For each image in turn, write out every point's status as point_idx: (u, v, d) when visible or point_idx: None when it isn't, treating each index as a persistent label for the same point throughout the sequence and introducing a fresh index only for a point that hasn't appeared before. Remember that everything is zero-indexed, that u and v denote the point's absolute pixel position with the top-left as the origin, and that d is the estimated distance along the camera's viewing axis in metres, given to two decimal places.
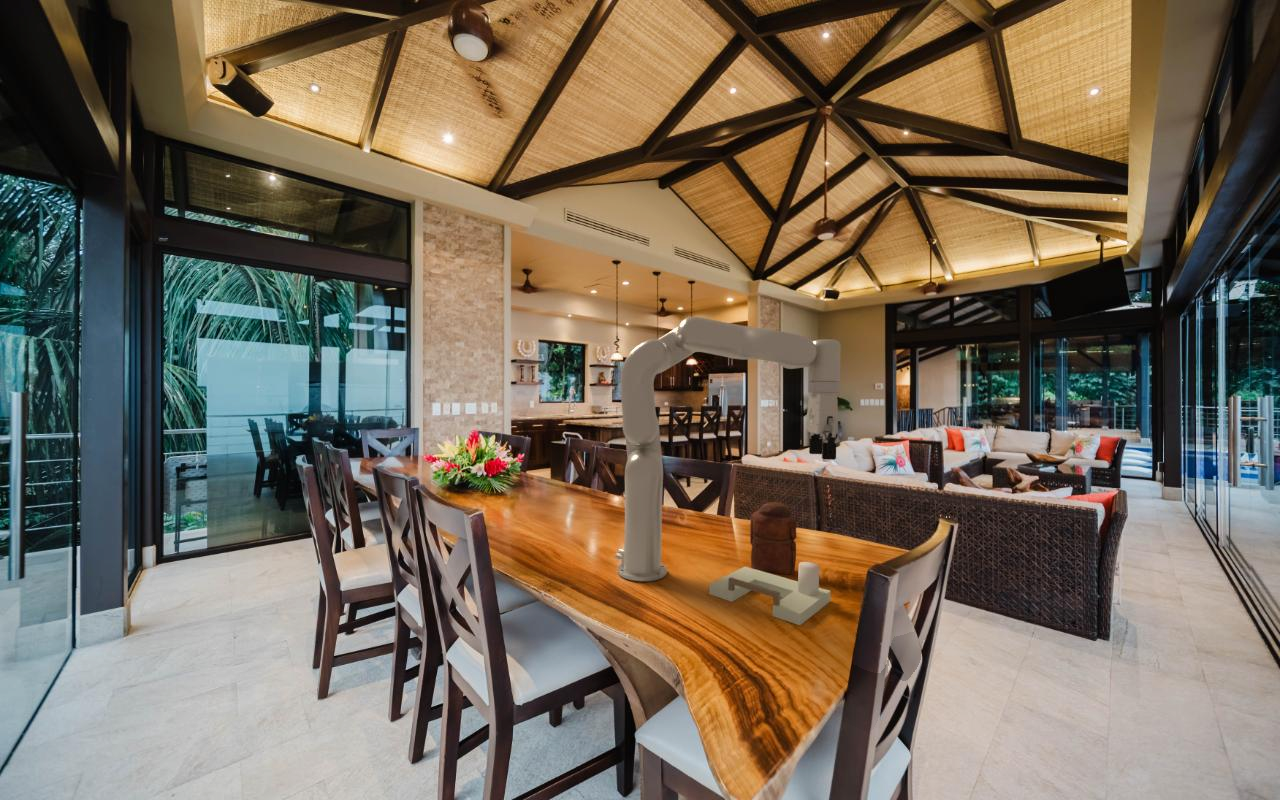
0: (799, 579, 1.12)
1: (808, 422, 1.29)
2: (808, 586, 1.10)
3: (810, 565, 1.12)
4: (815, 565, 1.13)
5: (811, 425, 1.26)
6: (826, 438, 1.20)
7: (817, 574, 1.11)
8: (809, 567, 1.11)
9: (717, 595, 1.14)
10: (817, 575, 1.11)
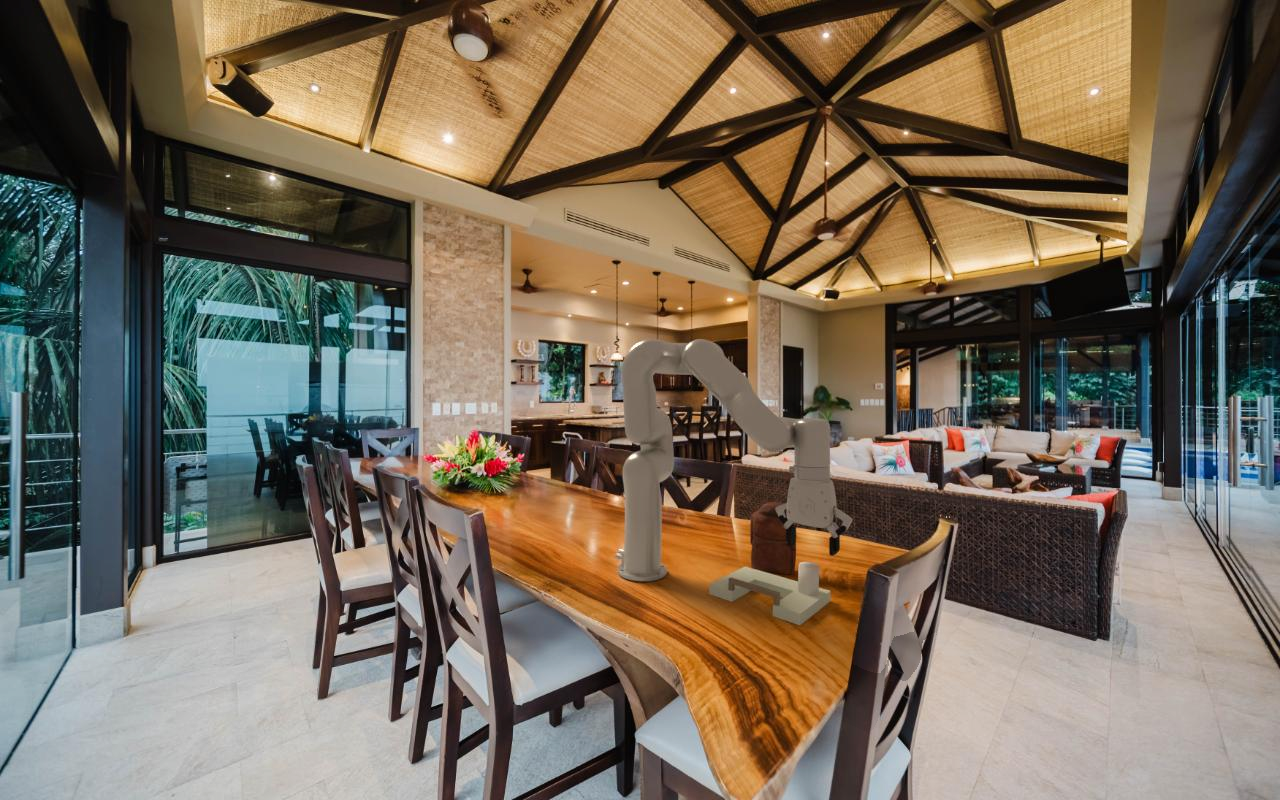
0: (799, 579, 1.12)
1: (795, 512, 1.12)
2: (807, 586, 1.10)
3: (810, 565, 1.12)
4: (815, 565, 1.13)
5: (806, 517, 1.10)
6: (836, 532, 1.07)
7: (817, 574, 1.11)
8: (809, 567, 1.11)
9: (717, 595, 1.14)
10: (817, 575, 1.11)
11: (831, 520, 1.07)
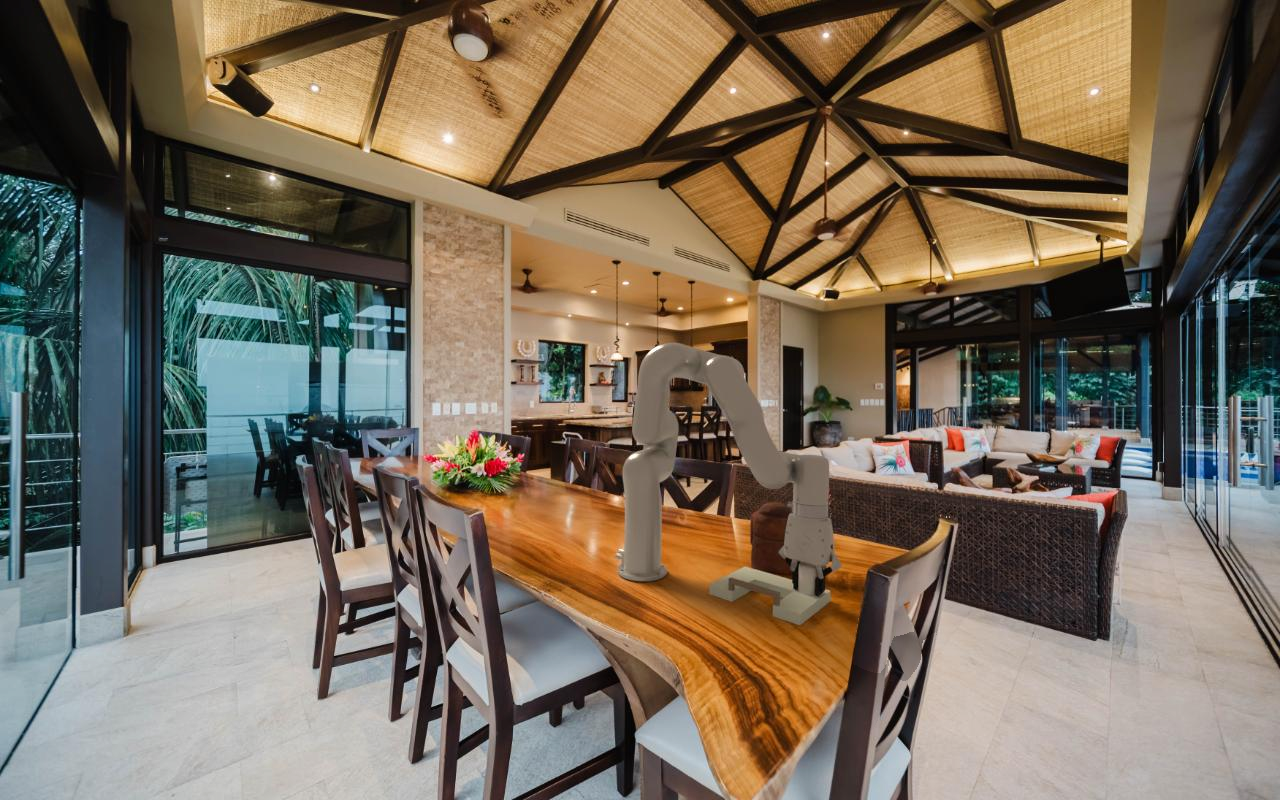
0: (799, 579, 1.12)
1: (792, 549, 1.12)
2: (808, 586, 1.10)
3: (810, 565, 1.12)
4: (815, 565, 1.13)
5: (803, 554, 1.10)
6: (823, 574, 1.09)
7: (817, 574, 1.11)
8: (809, 567, 1.11)
9: (717, 595, 1.14)
10: None
11: (828, 559, 1.08)
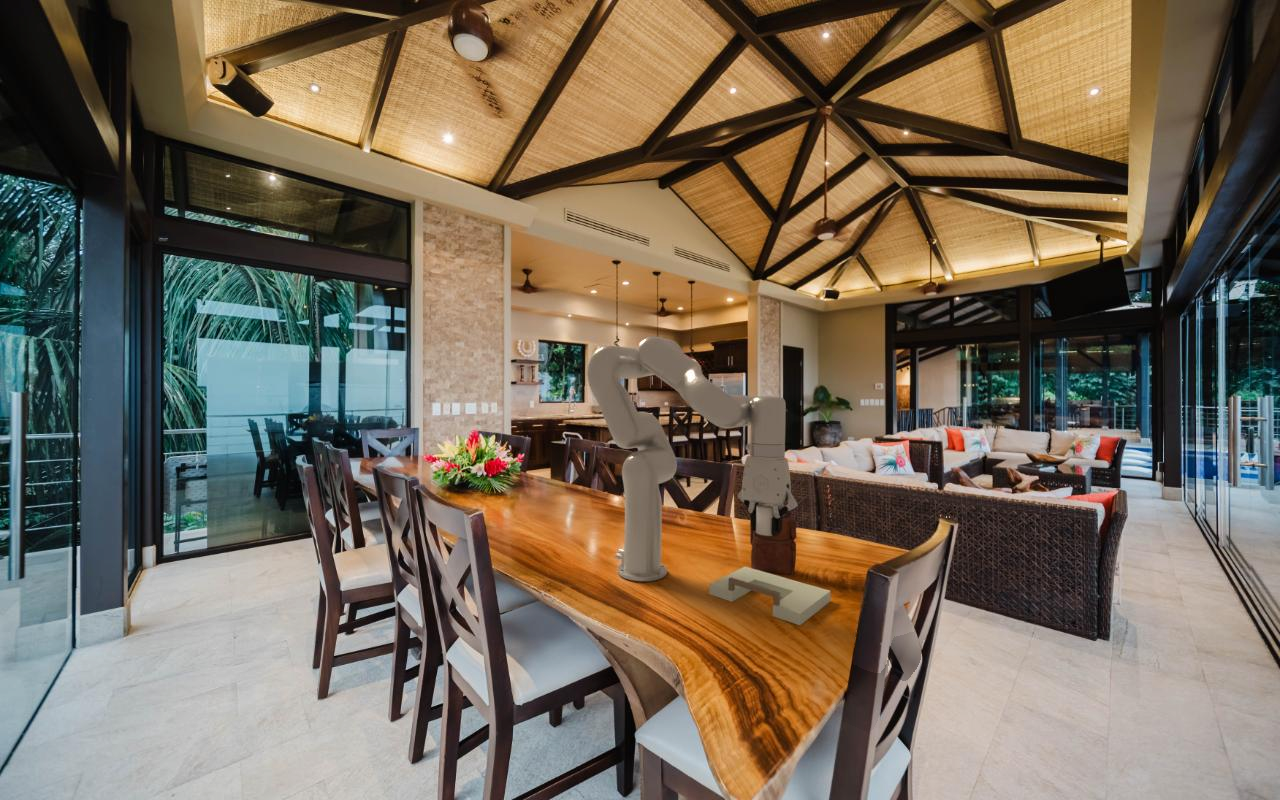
0: (756, 520, 1.12)
1: (750, 489, 1.12)
2: (764, 526, 1.10)
3: (768, 506, 1.12)
4: None
5: (760, 494, 1.10)
6: (779, 514, 1.09)
7: None
8: (766, 507, 1.11)
9: (717, 595, 1.14)
10: None
11: (784, 497, 1.07)
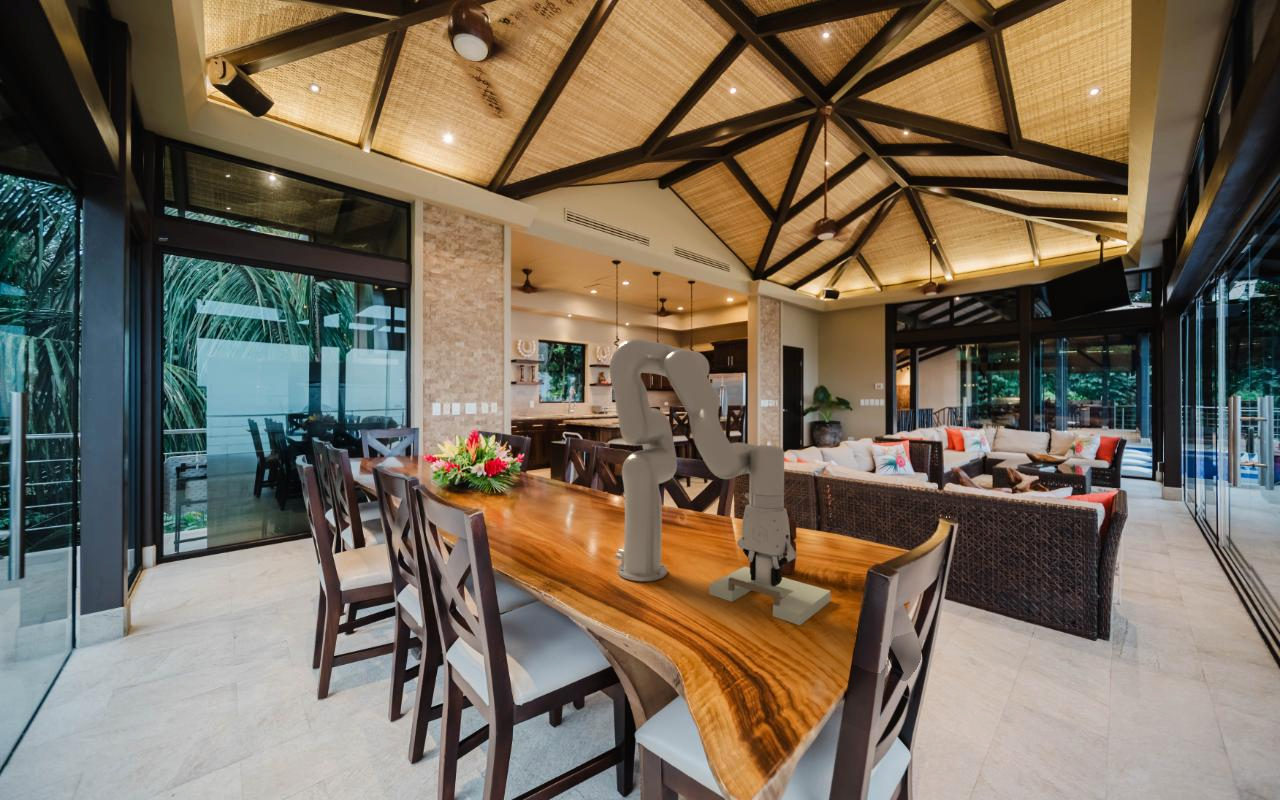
0: (756, 570, 1.12)
1: (749, 539, 1.12)
2: (764, 576, 1.10)
3: (767, 555, 1.12)
4: None
5: (759, 544, 1.10)
6: (779, 564, 1.09)
7: None
8: (765, 557, 1.11)
9: (717, 595, 1.14)
10: (773, 565, 1.11)
11: (783, 549, 1.08)
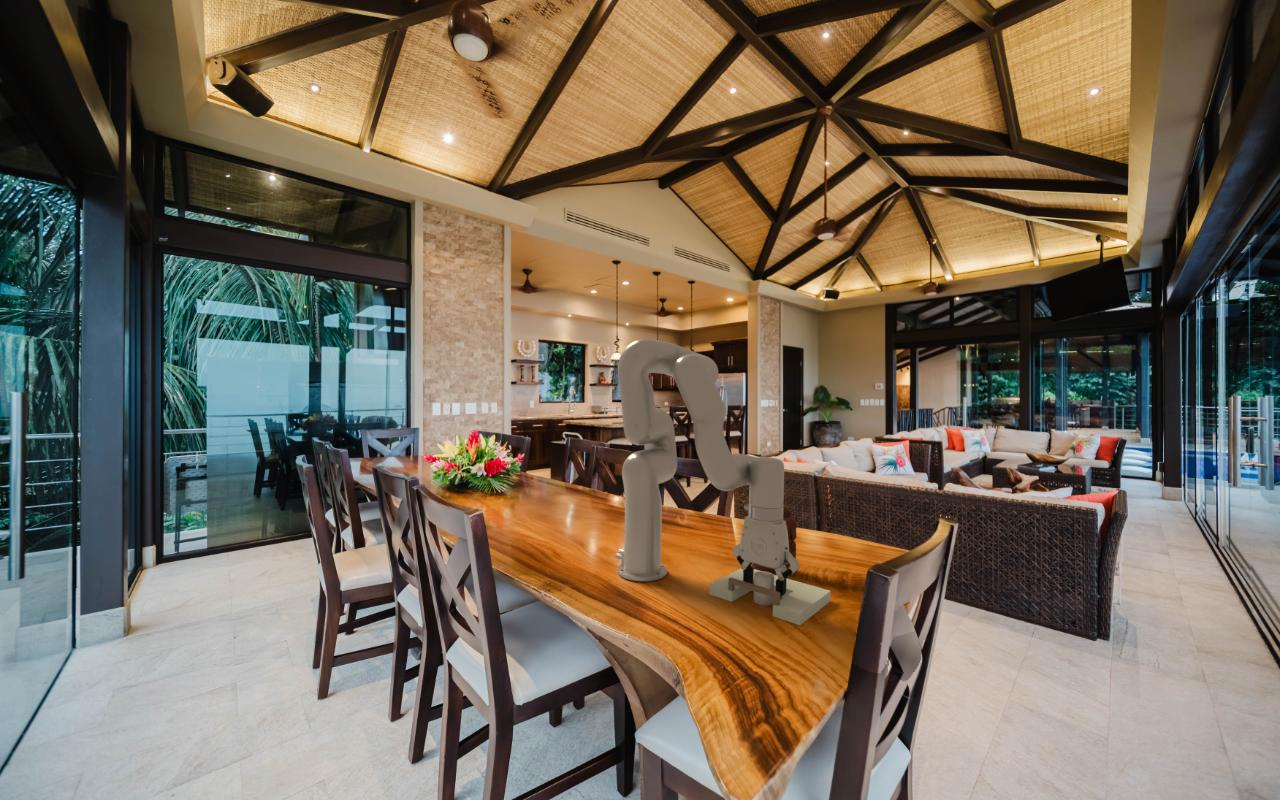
0: None
1: (748, 551, 1.12)
2: (762, 596, 1.11)
3: (766, 574, 1.13)
4: (770, 574, 1.13)
5: (758, 556, 1.10)
6: (783, 575, 1.08)
7: (772, 584, 1.11)
8: (764, 577, 1.11)
9: (717, 595, 1.14)
10: (772, 585, 1.11)
11: (782, 561, 1.08)
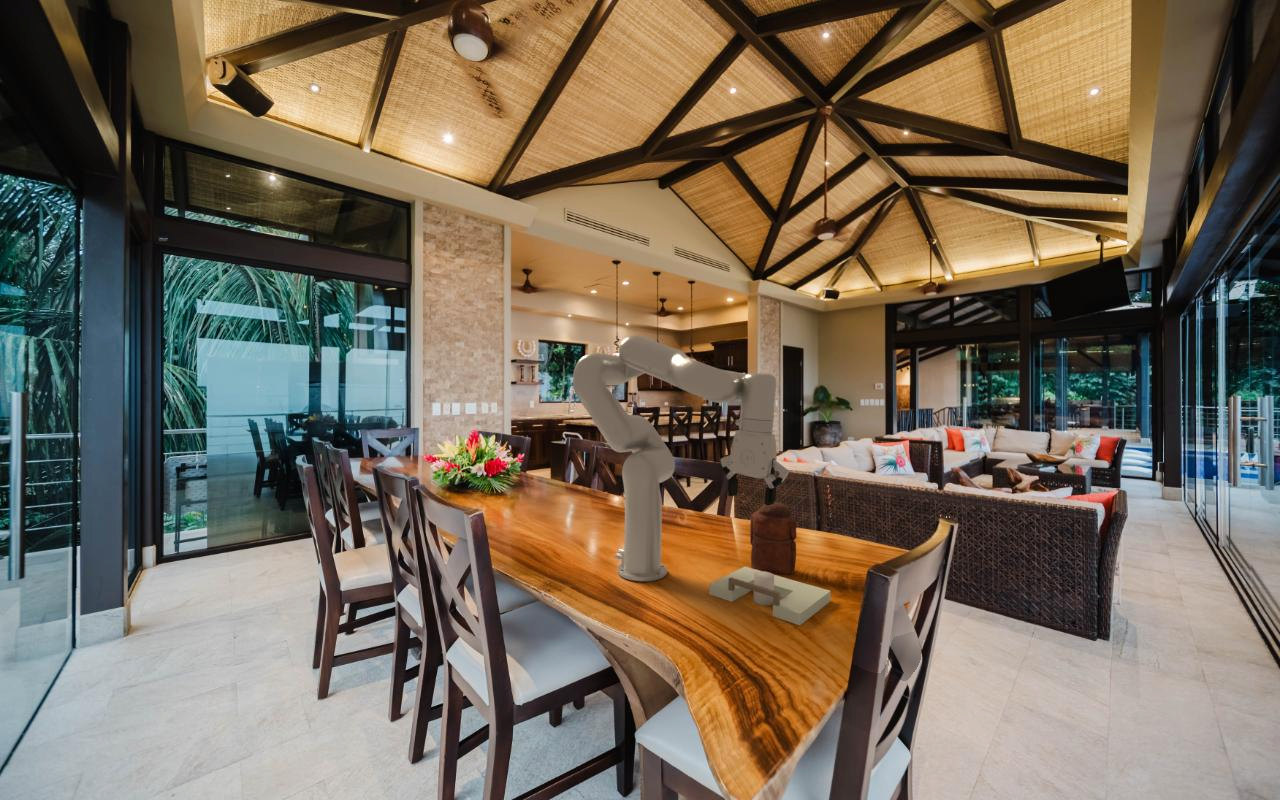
0: None
1: (737, 463, 1.15)
2: (762, 596, 1.11)
3: (766, 574, 1.13)
4: (770, 574, 1.13)
5: (746, 467, 1.14)
6: (772, 483, 1.11)
7: (772, 584, 1.11)
8: (764, 577, 1.11)
9: (717, 595, 1.14)
10: (772, 585, 1.11)
11: (768, 471, 1.11)
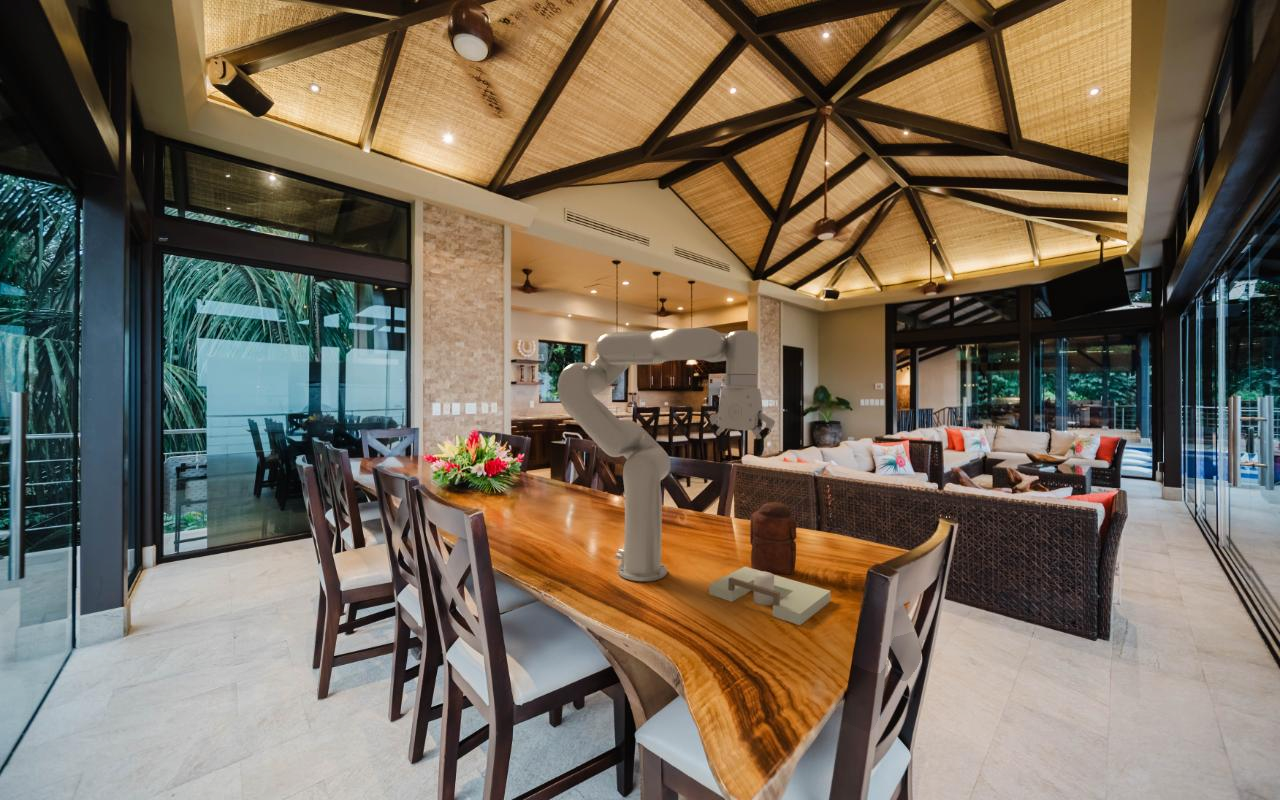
0: None
1: (725, 418, 1.20)
2: (762, 596, 1.11)
3: (766, 574, 1.13)
4: (770, 574, 1.13)
5: (734, 421, 1.18)
6: (760, 434, 1.16)
7: (772, 584, 1.11)
8: (764, 577, 1.11)
9: (717, 595, 1.14)
10: (772, 585, 1.11)
11: (755, 422, 1.16)
